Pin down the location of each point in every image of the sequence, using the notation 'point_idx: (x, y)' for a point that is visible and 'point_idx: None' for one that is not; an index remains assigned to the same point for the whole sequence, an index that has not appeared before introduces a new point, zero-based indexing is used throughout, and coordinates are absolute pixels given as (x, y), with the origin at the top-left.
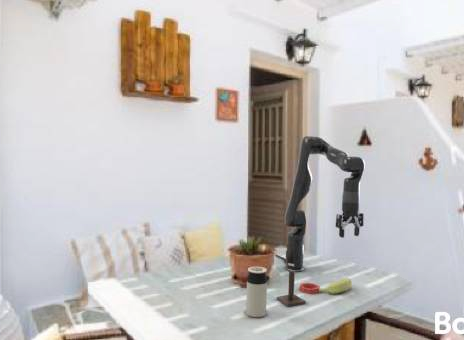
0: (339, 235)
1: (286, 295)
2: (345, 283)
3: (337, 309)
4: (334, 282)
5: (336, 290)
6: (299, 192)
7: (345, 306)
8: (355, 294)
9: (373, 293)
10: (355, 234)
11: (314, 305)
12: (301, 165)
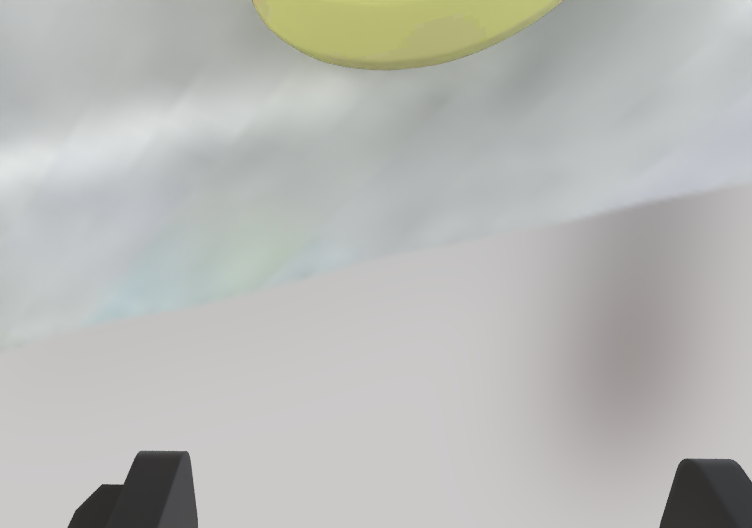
0: (97, 497)
1: None
2: (431, 60)
3: (143, 270)
4: (326, 5)
5: (311, 56)
6: None
7: (232, 254)
8: (487, 105)
9: (643, 152)
10: (685, 514)
11: (7, 147)
12: None
